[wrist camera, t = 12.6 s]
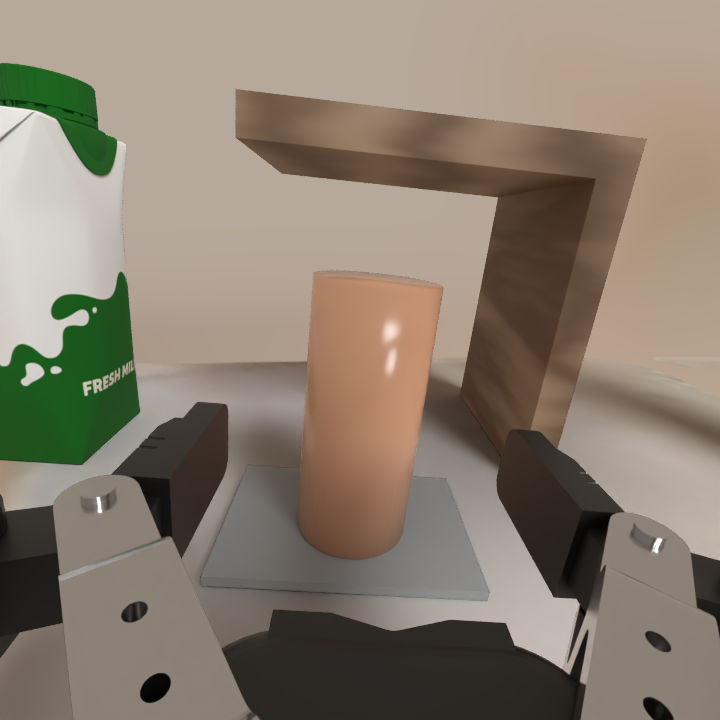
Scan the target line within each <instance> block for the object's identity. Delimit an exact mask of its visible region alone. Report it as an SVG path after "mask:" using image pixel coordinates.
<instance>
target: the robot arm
mask: <svg viewBox="0 0 720 720" xmlns="http://www.w3.org/2000/svg"><path fill="white" fill-rule="evenodd" d="M227 461H228V408H227V405H226V404H218V403H206V402H197V403H196V404H195V405H194V406H193V407H192V409H191V410H190V411H189V412H188V413H187V414H186V415H185V416H184V418H173V419H171V420H169V421H168V422H166V423H164V424H162V425H160V426H158V427H157V428H156V429H155V430H154V431H153V432H152V433H151V434H150V435H149V436H148V439H145V440H144V441H143V442H142V443H141V445H140V446H139V448H137V449H136V450H135V451H134V452H133V453H132V454H131V455H130V456H129V457H128V458H127V459H126V460H125V461H124V462H123V463H122V464H121V465H120V466H119V467H118V468H117V469H116V470H115V471H114V472H113V473H112V474H111V475H105V476H99V477H94V478H90V479H87V480H84V481H81V482H79V483H77V484H75V485H73V486H71V487H69V488H68V489H66V490H65V491H64V492H62V493H61V494H60V495H59V496H58V497H57V499H56V500H55V502H54V504H53V505H52V506H45V507H38V508H30V509H22V510H14V511H7V512H5V508H4V503H3V498H2V496H1V495H0V658H1V656H2V655H3V654H4V652H5V651H6V650H7V649H8V647H9V646H10V645H11V643H12V642H13V641H14V639H15V638H16V637H17V635H18V634H19V632H23V631H28V630H32V629H37V628H41V627H46V626H51V625H55V624H60V623H63V626H64V636H65V646H66V655H67V665H68V675H69V684H70V694H71V704H72V713H73V720H720V561H719V560H715V559H711V558H708V557H704V556H701V555H697V554H693V553H691V552H690V549H689V547H688V545H687V544H686V543H685V542H684V540H683V539H682V538H680V537H679V536H678V535H677V534H676V533H675V532H673V531H672V530H670V529H669V528H667V527H666V526H664V525H662V524H660V523H658V522H656V521H654V520H652V519H650V518H647V517H644V516H641V515H637V514H633V513H626V512H624V511H623V510H622V509H621V508H620V507H619V506H618V504H617V503H616V502H615V501H614V500H613V499H612V498H611V497H610V496H609V495H608V494H607V493H606V492H605V491H604V490H603V489H602V488H601V487H600V486H599V485H598V484H596V483H595V481H594V480H593V479H592V478H591V477H590V476H589V474H586V471H585V470H584V469H583V468H582V467H581V466H580V465H579V464H578V463H577V462H576V461H575V460H574V459H572V458H570V457H569V456H567V455H566V454H564V453H563V452H561V451H559V450H558V449H556V448H555V447H554V446H553V445H552V443H551V442H550V441H549V440H548V439H547V438H546V437H545V436H544V435H543V434H542V433H541V432H540V431H533V430H521V429H511V430H510V431H509V433H508V435H507V438H506V442H505V446H504V450H503V454H502V458H501V462H500V467H499V471H498V475H497V492H498V496H499V498H500V500H501V502H502V504H503V506H504V508H505V509H506V511H507V513H508V515H509V517H510V518H511V520H512V522H513V524H514V526H515V528H516V529H517V531H518V533H519V535H520V537H521V538H522V540H523V542H524V544H525V546H526V548H527V549H528V551H529V553H530V555H531V557H532V558H533V560H534V562H535V564H536V566H537V568H538V569H539V571H540V573H541V575H542V577H543V578H544V580H545V582H546V584H547V586H548V588H549V589H550V591H551V593H552V595H553V597H556V598H572V599H577V600H578V602H579V603H580V604H579V607H578V610H577V612H576V615H575V619H574V623H573V628H572V632H571V636H570V640H569V645H568V649H567V653H566V658H565V662H564V666H563V669H561V668H559V667H558V666H556V665H555V664H553V663H552V662H550V661H548V660H546V659H545V658H543V657H541V656H539V655H537V654H535V653H533V652H530V651H528V650H526V649H523V648H521V647H518V646H514V643H513V640H512V638H511V635H510V633H509V630H508V628H507V625H506V623H495V622H478V621H461V620H447V621H442V622H437V623H432V624H428V625H423V626H418V627H413V628H408V629H404V630H399V631H390V630H385V629H382V628H379V627H376V626H372V625H369V624H366V623H363V622H359V621H356V620H353V619H350V618H346V617H343V616H340V615H337V614H333V613H323V612H306V611H289V610H273V613H272V618H271V623H270V628H269V631H265V632H260V633H257V634H254V635H250V636H247V637H244V638H242V639H240V640H237V641H235V642H233V643H231V644H229V645H227V646H225V647H223V648H222V649H221V647H220V645H219V643H218V640H217V638H216V636H215V634H214V631H213V629H212V627H211V625H210V622H209V620H208V618H207V616H206V613H205V611H204V609H203V607H202V604H201V602H200V600H199V598H198V595H197V593H196V591H195V589H194V586H193V584H192V582H191V580H190V577H189V575H188V573H187V571H186V568H185V566H184V564H183V562H182V559H181V558H182V556H183V554H184V553H185V551H186V549H187V547H188V545H189V543H190V541H191V539H192V537H193V535H194V533H195V531H196V529H197V527H198V525H199V523H200V521H201V520H202V518H203V516H204V514H205V512H206V510H207V508H208V506H209V504H210V502H211V500H212V498H213V496H214V494H215V492H216V490H217V488H218V487H219V485H220V483H221V481H222V479H223V477H224V474H225V471H226V467H227Z"/></svg>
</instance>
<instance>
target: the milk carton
mask: <svg viewBox="0 0 720 720" xmlns="http://www.w3.org/2000/svg"><path fill="white" fill-rule="evenodd" d="M125 160H126V145H125V144H124V143H122V142H119V141H117V140H116V139H115V138H113V137H110V136H107V135H106V134H105V133H104V132H102V131H100V130H98V118H97V107H96V98H95V91H94V89H93V88H92V87H91V86H90V85H88V84H86V83H84V82H82V81H80V80H78V79H75V78H72V77H69V76H67V75H63V74H60V73H56V72H53V71H49V70H45V69H41V68H36V67H31V66H25V65H19V64H10V63H1V64H0V459H2V460H17V461H33V462H48V463H64V464H82V463H83V462H84V461H86V460H87V459H88V458H89V457H90V456H91V455H92V454H93V453H94V452H96V451H97V450H98V449H99V448H100V447H101V446H102V445H103V444H104V443H106V442H107V441H108V440H109V439H110V438H111V437H112V436H113V435H115V434H116V433H117V432H118V431H119V430H120V429H121V428H122V427H123V426H125V425H126V424H127V423H128V422H129V421H130V420H131V419H132V418H133V417H134V416H136V415H137V414H138V413H139V412H140V408H139V399H138V390H137V381H136V373H135V364H134V356H133V346H132V333H131V321H130V309H129V298H128V286H127V273H126V261H125V249H124V237H123V226H122V225H123V224H122V204H123V188H124V174H125Z"/></svg>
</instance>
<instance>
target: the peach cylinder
mask: <svg viewBox="0 0 720 720" xmlns="http://www.w3.org/2000/svg"><path fill="white" fill-rule="evenodd" d="M442 294H443V286H441V285H439V284H436V283H432V282H428V281H424V280H419V279H414V278H407V277H402V276H394V275H386V274H379V273H369V272H357V271H317V272H314V273H313V286H312V301H311V316H310V331H309V347H308V361H307V376H306V391H305V406H304V421H303V436H302V451H301V466H300V481H299V496H298V511H297V524H298V527H299V530H300V532H301V534H302V535H303V537H304V538H305V539H306V540H307V541H308V542H309V543H310V544H311V545H312V546H313V547H315V548H316V549H318V550H320V551H321V552H324V553H326V554H328V555H331V556H334V557H338V558H343V559H352V560H360V559H368V558H373V557H376V556H379V555H382V554H384V553H386V552H388V551H389V550H391V549H392V548H393V547H394V546H395V545H396V544H397V543H398V542H399V540H400V539H401V536H402V534H403V530H404V524H405V518H406V512H407V506H408V500H409V494H410V488H411V481H412V475H413V469H414V463H415V457H416V451H417V445H418V439H419V433H420V427H421V421H422V415H423V409H424V403H425V397H426V391H427V385H428V379H429V373H430V367H431V361H432V354H433V349H434V342H435V336H436V330H437V324H438V318H439V312H440V306H441V300H442Z"/></svg>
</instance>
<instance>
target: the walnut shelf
mask: <svg viewBox="0 0 720 720" xmlns="http://www.w3.org/2000/svg"><path fill="white" fill-rule="evenodd" d="M236 138H237V139H238V140H240V141H241V142H242V143H243V144H245V145H246V146H247V147H249V148H250V149H251V150H252V151H254V152H255V153H256V154H258V155H259V156H260V157H261V158H263V159H264V160H265V161H267V162H268V163H269V164H271V165H272V166H273V167H274V168H276V169H277V170H278V171H279V172H281V173H282V174H291V175H300V176H309V177H318V178H327V179H336V180H345V181H355V182H364V183H373V184H382V185H391V186H400V187H409V188H418V189H427V190H437V191H446V192H456V193H464V194H473V195H482V196H491V197H498V202H497V206H496V212H495V217H494V222H493V228H492V232H491V238H490V243H489V249H488V253H487V258H486V264H485V269H484V274H483V279H482V285H481V290H480V295H479V300H478V305H477V310H476V316H475V321H474V326H473V331H472V336H471V341H470V347H469V352H468V357H467V362H466V367H465V373H464V378H463V383H462V388H461V393H460V395H461V396H462V398H463V399H464V401H465V402H466V404H467V406H468V407H469V409H470V410H471V412H472V413H473V415H474V416H475V418H476V419H477V421H478V422H479V424H480V425H481V427H482V428H483V430H484V431H485V433H486V434H487V436H488V437H489V439H490V440H491V442H492V444H493V445H494V447H495V448H496V450H497V451H498V453H499V454H500V456H501V457H502V454H503V450H504V446H505V442H506V438H507V435H508V433H509V431H510V430H511V429H521V430H533V431H540V432H541V433H542V434H543V435H544V436H545V437H546V438H547V439H548V440H549V441H550V442H551V443H552V445H553V446H554V447H555V448H556V449H557V448H558V444H559V441H560V437H561V434H562V430H563V427H564V424H565V420H566V417H567V413H568V410H569V406H570V403H571V399H572V396H573V392H574V389H575V385H576V382H577V379H578V375H579V372H580V368H581V365H582V361H583V358H584V354H585V351H586V347H587V344H588V340H589V337H590V334H591V330H592V326H593V323H594V320H595V316H596V313H597V309H598V306H599V302H600V299H601V295H602V292H603V288H604V285H605V282H606V278H607V275H608V271H609V268H610V264H611V261H612V257H613V254H614V251H615V247H616V244H617V240H618V236H619V233H620V230H621V226H622V223H623V219H624V216H625V212H626V209H627V205H628V202H629V199H630V195H631V192H632V188H633V185H634V181H635V178H636V174H637V171H638V167H639V164H640V160H641V157H642V153H643V150H644V147H645V143H646V140H647V139H643V138H635V137H627V136H618V135H610V134H602V133H594V132H585V131H577V130H568V129H561V128H552V127H544V126H536V125H527V124H519V123H510V122H503V121H494V120H486V119H478V118H469V117H461V116H453V115H444V114H436V113H428V112H419V111H411V110H402V109H395V108H386V107H378V106H369V105H362V104H353V103H345V102H336V101H329V100H320V99H311V98H304V97H295V96H287V95H279V94H271V93H262V92H254V91H246V90H237V89H236Z"/></svg>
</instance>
